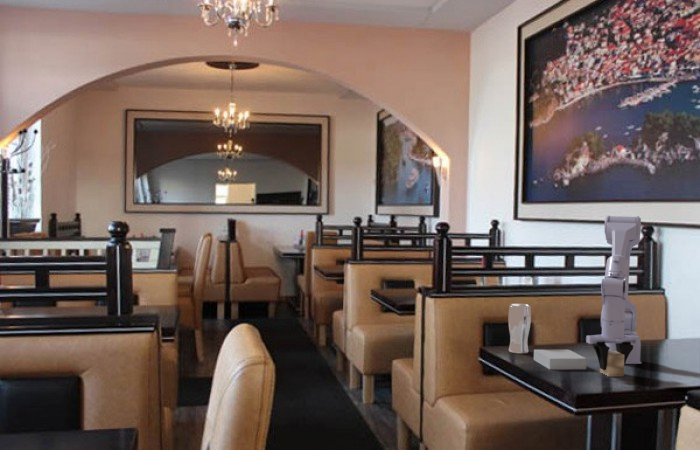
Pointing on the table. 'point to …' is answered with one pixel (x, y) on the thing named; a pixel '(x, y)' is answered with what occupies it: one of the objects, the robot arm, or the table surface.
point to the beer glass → (519, 327)
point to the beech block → (614, 364)
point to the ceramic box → (560, 359)
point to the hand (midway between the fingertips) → (611, 369)
